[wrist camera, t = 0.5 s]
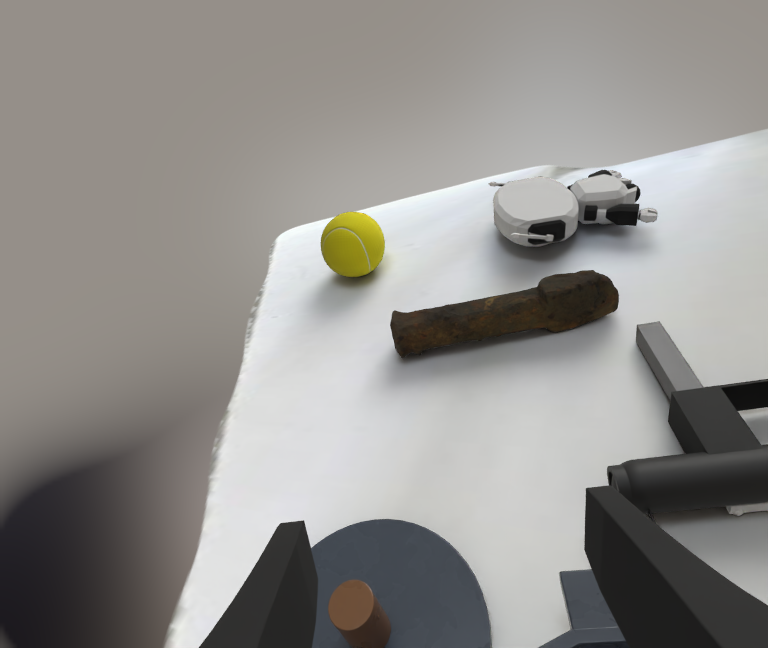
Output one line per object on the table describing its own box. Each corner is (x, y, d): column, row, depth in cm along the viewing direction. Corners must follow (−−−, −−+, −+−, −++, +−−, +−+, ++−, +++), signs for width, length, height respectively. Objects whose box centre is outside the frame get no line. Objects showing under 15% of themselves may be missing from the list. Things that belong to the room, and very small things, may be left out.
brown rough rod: (398, 367, 44) (385, 328, 41) (399, 336, 47) (387, 298, 44) (626, 335, 41) (630, 289, 38) (611, 304, 44) (614, 260, 41)
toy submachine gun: (557, 329, 39) (628, 514, 26) (847, 282, 36) (1094, 469, 23) (559, 361, 41) (626, 547, 28) (835, 319, 38) (1056, 511, 25)
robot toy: (614, 192, 59) (485, 213, 60) (619, 154, 56) (483, 177, 57) (661, 245, 49) (506, 269, 51) (669, 203, 46) (505, 230, 48)
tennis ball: (381, 288, 54) (364, 232, 50) (324, 290, 57) (302, 237, 52) (397, 251, 59) (382, 197, 55) (343, 255, 62) (325, 204, 57)
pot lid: (478, 518, 32) (468, 476, 29) (511, 797, 22) (500, 775, 19) (287, 536, 34) (260, 499, 31) (238, 795, 24) (191, 776, 21)
